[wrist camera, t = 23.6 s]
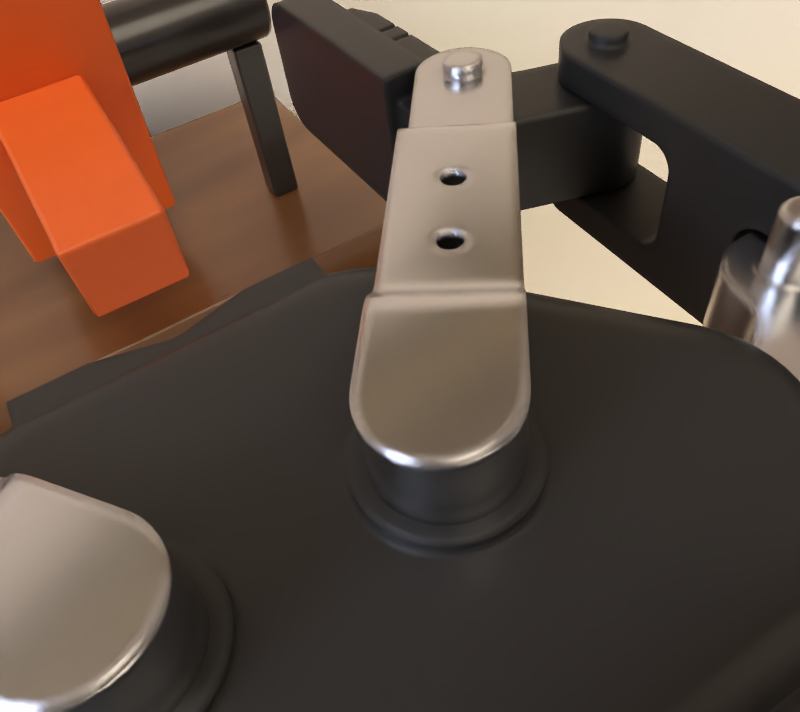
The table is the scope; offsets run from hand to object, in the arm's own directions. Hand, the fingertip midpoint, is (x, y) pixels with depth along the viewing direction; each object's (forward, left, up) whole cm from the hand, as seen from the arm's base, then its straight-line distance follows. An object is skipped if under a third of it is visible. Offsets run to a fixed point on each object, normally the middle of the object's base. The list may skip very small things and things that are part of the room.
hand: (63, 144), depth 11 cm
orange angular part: (-1, 0, -6) cm, 6 cm away
